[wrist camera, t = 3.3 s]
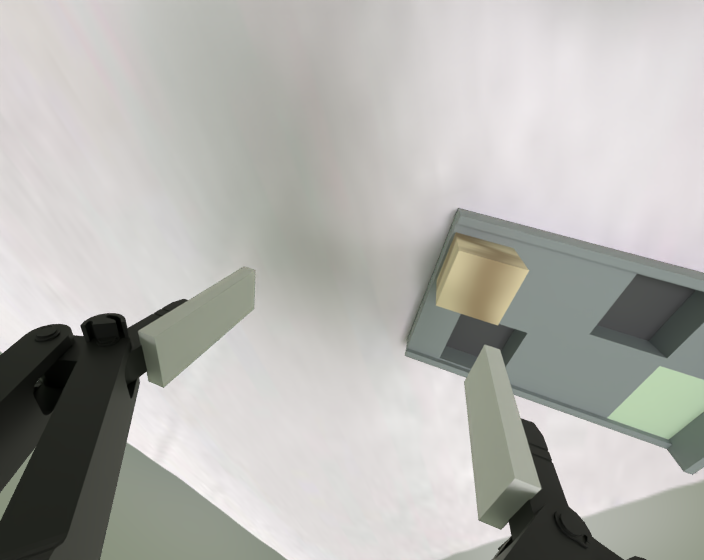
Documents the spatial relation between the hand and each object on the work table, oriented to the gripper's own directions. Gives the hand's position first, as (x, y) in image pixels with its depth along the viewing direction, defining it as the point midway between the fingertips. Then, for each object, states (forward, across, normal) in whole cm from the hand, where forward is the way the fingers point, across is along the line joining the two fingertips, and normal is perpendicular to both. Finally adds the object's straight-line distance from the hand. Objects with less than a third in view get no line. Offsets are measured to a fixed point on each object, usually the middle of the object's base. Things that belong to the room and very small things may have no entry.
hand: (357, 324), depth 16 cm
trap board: (+19, +20, -5) cm, 28 cm away
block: (+16, +8, 0) cm, 18 cm away
